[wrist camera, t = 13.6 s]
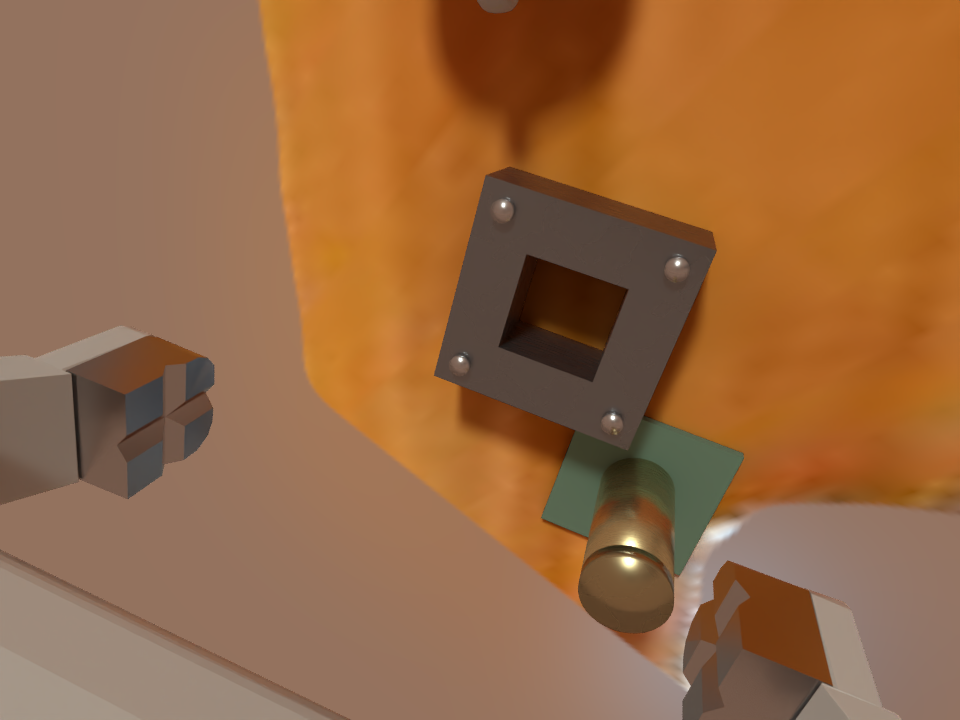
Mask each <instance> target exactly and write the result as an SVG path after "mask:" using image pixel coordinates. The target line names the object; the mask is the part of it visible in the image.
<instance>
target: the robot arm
mask: <svg viewBox="0 0 960 720" xmlns="http://www.w3.org/2000/svg"><path fill="white" fill-rule="evenodd" d="M213 385H214V365H213V363H212V362H211V361H210V360H209V359H208V358H207V357H204V356H202V355H200V354H197V353H195V352H192V351H190V350H188V349H185V348H183V347H181V346H178V345H176V344H173V343H171V342H169V341H166V340H164V339H161V338H159V337H155V336H153V335H152V334H149V333H146V332H143V331H141V330H138V329H136V328H133V327H128V326H118V327H116V328H113V329H110V330H108V331H105V332H102V333H100V334H97V335H94V336H92V337H89V338H87V339H84V340H81V341H79V342H76V343H74V344H71V345H69V346H66V347H63V348H60V349H58V350H55V351H52V352H50V353H47V354H45V355H42V356H39V357H37V358H32V357H29V356H27V355H20V356H4V357H0V505H2V504H5V503H8V502H12V501H15V500H19V499H22V498H26V497H29V496H32V495H36V494H39V493H43V492H46V491H50V490H53V489H56V488H60V487H63V486H67V485H70V484H74V483H77V482H79V479H80V480H82V481H85V482H87V483H90V484H92V485H95V486H97V487H99V488H102V489H104V490H107V491H109V492H112V493H114V494H116V495H119V496H121V497H124V498H126V499H129V498H130V497H132V496H133V495H134V494H136V493H137V492H139V491H140V490H142V489H143V488H145V487H146V486H147V485H149V484H150V483H152V482H153V481H155V480H156V479H157V478H159V477H160V476H162V473H163V469H164V464H167V463H172V462H177V461H181V460H184V459H186V458H187V457H188V456H190V455H191V454H193V453H194V452H195V451H197V449H198V448H199V447H200V445H201V444H202V442H203V441H204V440H205V438H206V437H207V435H208V433H209V429H210V427H211V424H212V416H213V407H212V405H211V403H210V401H209V399H208V397H207V395H206V391H208V390H209V389H210V388H211V387H212V386H213ZM713 588H714V589H713V590H714V600H711V601H708V602H706V603H704V604H701V605H700V607H699V609H698V611H697V613H696V615H695V617H694V619H693V621H692V623H691V626H690V629H689V632H688V636H687V639H686V642H685V649H684V656H683V673H684V675H685V677H686V678H687V680H688V682H689V683H690V685H691V687H690V689H689V691H688V692H687V694H686V696H685V698H684V699H683V720H902V719H901V718H900V717H899V716H898V715H897V714H896V713H893V712H891V711H889V710H887V709H884V708H883V706H882V703H881V700H880V697H879V694H878V691H877V688H876V685H875V682H874V679H873V676H872V673H871V670H870V667H869V664H868V660H867V657H866V655H865V651H864V648H863V645H862V642H861V639H860V636H859V633H858V630H857V627H856V624H855V621H854V618H853V615H852V612H851V609H850V608H849V607H848V606H847V605H846V604H845V603H844V602H842V601H839V600H836V599H833V598H831V597H828V596H825V595H822V594H819V593H817V592H814V591H811V590H808V589H803V588H800V587H798V586H795V585H792V584H790V583H787V582H784V581H781V580H779V579H776V578H773V577H771V576H768V575H765V574H763V573H760V572H757V571H755V570H752V569H749V568H747V567H744V566H741V565H739V564H736V563H733V562H731V561H727V562H726V563H725V564H724V565H723V566H722V567H721V568H720V570H719V572H718V574H717V576H716V577H715V579H714V581H713ZM0 720H350V719H348V718H346V717H344V716H342V715H340V714H338V713H336V712H334V711H331V710H330V709H327V708H326V707H323V706H321V705H319V704H317V703H315V702H313V701H311V700H309V699H307V698H305V697H303V696H300V695H299V694H297V693H295V692H293V691H291V690H288V689H286V688H284V687H282V686H280V685H278V684H276V683H274V682H272V681H270V680H268V679H266V678H264V677H262V676H260V675H257V674H256V673H253V672H251V671H249V670H247V669H245V668H243V667H241V666H239V665H237V664H235V663H233V662H231V661H229V660H227V659H225V658H223V657H221V656H218V655H216V654H214V653H212V652H210V651H208V650H206V649H204V648H202V647H200V646H198V645H195V644H194V643H192V642H190V641H187V640H186V639H184V638H181V637H179V636H177V635H175V634H173V633H171V632H169V631H167V630H165V629H163V628H161V627H159V626H157V625H155V624H153V623H150V622H148V621H146V620H144V619H142V618H140V617H138V616H136V615H134V614H132V613H130V612H128V611H126V610H124V609H122V608H120V607H118V606H116V605H114V604H111V603H109V602H107V601H105V600H103V599H101V598H99V597H97V596H95V595H93V594H91V593H89V592H87V591H84V590H83V589H81V588H79V587H76V586H74V585H72V584H70V583H68V582H66V581H64V580H62V579H60V578H58V577H56V576H54V575H52V574H50V573H47V572H46V571H44V570H41V569H39V568H37V567H35V566H33V565H31V564H29V563H27V562H25V561H23V560H21V559H19V558H17V557H15V556H13V555H10V554H9V553H6V552H4V551H2V550H0Z"/></svg>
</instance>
